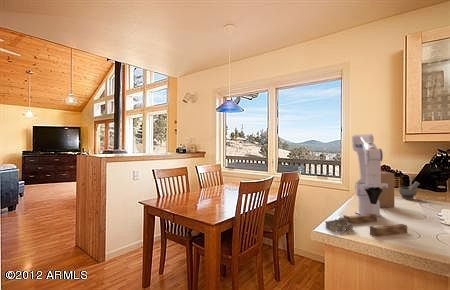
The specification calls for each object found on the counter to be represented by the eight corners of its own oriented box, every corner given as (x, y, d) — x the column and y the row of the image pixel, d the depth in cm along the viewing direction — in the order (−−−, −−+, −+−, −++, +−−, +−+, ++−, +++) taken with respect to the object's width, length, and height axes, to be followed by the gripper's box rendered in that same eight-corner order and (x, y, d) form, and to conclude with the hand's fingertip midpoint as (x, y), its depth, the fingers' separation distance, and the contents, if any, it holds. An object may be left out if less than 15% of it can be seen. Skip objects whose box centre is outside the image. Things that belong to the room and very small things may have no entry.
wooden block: (384, 203, 142) (384, 171, 142) (395, 207, 132) (395, 173, 132) (368, 203, 143) (367, 171, 142) (377, 207, 133) (376, 173, 133)
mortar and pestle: (398, 198, 152) (398, 181, 152) (398, 196, 160) (398, 179, 160) (420, 201, 145) (420, 182, 145) (419, 198, 153) (419, 180, 153)
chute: (372, 219, 112) (372, 212, 112) (407, 232, 95) (407, 224, 95) (343, 223, 108) (343, 215, 108) (374, 236, 91) (374, 228, 91)
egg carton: (345, 225, 105) (345, 216, 105) (356, 232, 97) (356, 222, 97) (323, 226, 104) (323, 217, 104) (332, 232, 97) (332, 223, 97)
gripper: (367, 176, 101) (367, 207, 101) (393, 175, 104) (394, 204, 104) (355, 174, 107) (355, 203, 108) (380, 173, 111) (380, 201, 111)
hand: (373, 203), depth 106 cm, fingers closed
